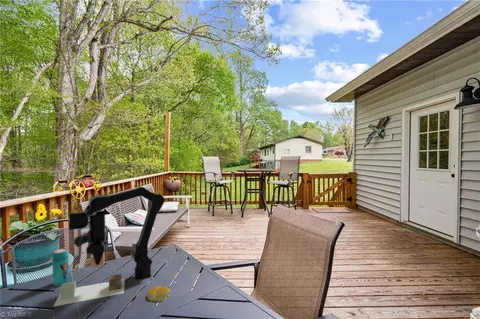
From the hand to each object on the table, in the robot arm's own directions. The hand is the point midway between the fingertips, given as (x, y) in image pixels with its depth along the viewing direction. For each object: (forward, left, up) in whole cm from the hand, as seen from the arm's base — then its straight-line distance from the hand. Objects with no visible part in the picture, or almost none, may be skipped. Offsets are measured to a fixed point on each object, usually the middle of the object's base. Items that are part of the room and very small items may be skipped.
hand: (98, 262), depth 110 cm
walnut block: (-7, +3, -11) cm, 13 cm away
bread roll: (-23, +17, -12) cm, 31 cm away
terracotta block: (0, 0, -1) cm, 1 cm away
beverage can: (+16, -11, -12) cm, 23 cm away
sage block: (+10, +3, -11) cm, 15 cm away
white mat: (+2, +3, -11) cm, 12 cm away
